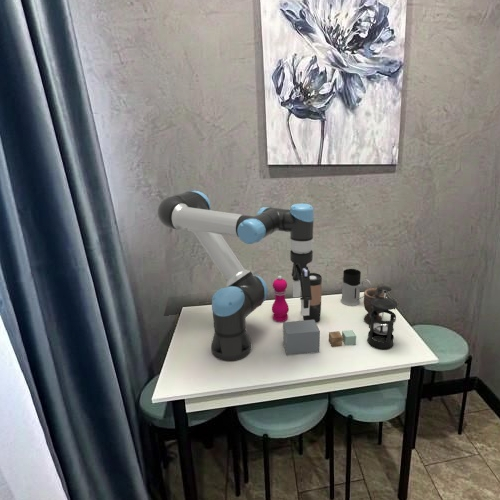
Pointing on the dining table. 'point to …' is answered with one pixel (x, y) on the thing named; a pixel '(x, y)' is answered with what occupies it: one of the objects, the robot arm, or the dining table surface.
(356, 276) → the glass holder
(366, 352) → the dining table surface
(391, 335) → the french press
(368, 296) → the mortar and pestle
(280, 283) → the pepper mill
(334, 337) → the walnut block
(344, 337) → the sage block
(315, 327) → the grey rectangular block
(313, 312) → the travel mug
